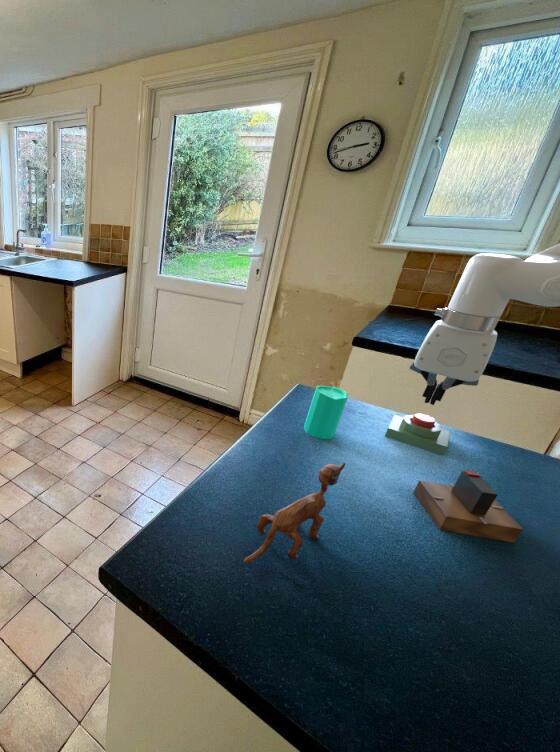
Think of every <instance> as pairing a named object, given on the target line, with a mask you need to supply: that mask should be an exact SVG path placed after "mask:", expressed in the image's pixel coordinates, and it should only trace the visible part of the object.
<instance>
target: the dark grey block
mask: <svg viewBox="0 0 560 752" xmlns="http://www.w3.org/2000/svg"><path fill="white" fill-rule="evenodd" d="M453 485H454V487H453V489H452V492H453V493H454V494H455V495H456V497H457V498H458V499H459V500H460V501H461V502H462V504H463V505H464V506H465V507H466V508H467V509H468V511H469V512H470V513H473V514H479V515H486V513H487V512H488V510H489V508H490V507H491V505H492V503H493V502H494V500H496V499H497V497H498V496H499V495H498V493H497V492H496V491H495V490H494V489H493V488H492V487H491V486H490V485H489V484H488V483H487V482H486V481H485V480H484V479H483V478H482V477H481V475H480V473H478V471H472V470H467V469H466V470H462V471H461V473H460V474H459V475H458V477H457V480H456V482H455V483H454V484H453Z"/></svg>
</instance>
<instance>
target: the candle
mask: <svg viewBox="0 0 560 752" xmlns="http://www.w3.org/2000/svg"><path fill="white" fill-rule="evenodd" d="M348 396H349V393H348V392H347V391H345V390H344V389H342V388H339V387H336V386H335V384H333V386H328V385H316V387H315V391H314V394H313V397H312V400H311V403H310V406H309V409H308V413H307V415H306V419H305V422H304V426H303V431H305V433H307V434H308V435H309V436H312V437H313V438H318V439H321V440H330V439H332V438H334V437H335V434H336V431H337V428H338V425H339V422H340V420H341V417H342V414H343V411H344V408H345V406H346V403H347V401H348Z"/></svg>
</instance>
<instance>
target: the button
mask: <svg viewBox="0 0 560 752" xmlns="http://www.w3.org/2000/svg"><path fill="white" fill-rule="evenodd" d="M413 415H414V416H413V418H412V421H411V422H412V423H414V424H416V425H418V426H421V427H424V428H432V427H433V425H434V423H435V422H436V419H435V418H434V417H433V416H431V415H428V414H425V413H419V412H416V413H414V414H413Z"/></svg>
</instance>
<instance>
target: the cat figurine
mask: <svg viewBox="0 0 560 752" xmlns="http://www.w3.org/2000/svg"><path fill="white" fill-rule="evenodd" d="M345 466H346V463H345V462H344V463H342V464H341V465H340V466H339V465H338V464H334V463H327V464H325V465H323V467H322V468H321V469H320V470H319V473H318V476H317V478H318V481H319V483H320V490H319V491H318V492H314V493H310V494H308V495H307V496H305V497H304V496H303V497H302V498H299V499H297V500H294V501H293V503H290V504H289V505H287V506H285V507H283V508H279V509H278V510H277V511H275V513H274V514H273V515H272V514H271V513H270V514H269V513H267V514H262V515H261V516H260V518H259V520H258V522H257V524H256V529H257V531H258V533H259V535H260V536H261V537H262V536H264V535H266V533H267V530H265V528H266V527H267V526H268V525H270V524H271V528H269V531H268V534H267V537H266V538H265V540H264V542H263V543H262V545H261V546H260V547H258V549H257V550H255V551H254V552H253V553H252V554H250V555H248V556H247V557H245V558H244V559H243V564H245V565H247V564H250V563H252V562H253V561H255V560H256V559H258V558H260V557H261V556H262V555H263V554H264V553H265V552H266V551H267V550H268V549H269V547H270V546H271V544H272V543H273V542H274V539H275V537H276V534H277V532H280V533H282V534H284V535H286V536H287V537H288V538H290V539H291V540H292V541H293V543H292V545H291V547H290V548H289V550H288V552H287V557H288V558H289V559H290V560H293V561H296V560H297V559H298V558H299V555H297V552H298V551H299V550H300V549H301V548H302V546H303V542H304V541H303V537H302V535H301V534H300V533H299V530H298V529H299V527H300V526H301V525H302V524H304V523H305V522H306V521H308V520H312V524H311V526H310V528H309V531H308V537H309V538H310V539H312V540H317V539H319V538H320V536H319V535H318V533H319V530H320V528H321V527H322V524H323V522H324V521H325V518H324V517H323V516H322V515H321V514H320V513H321V512H322V511H323V509H324V508H325V507H326V503H327V502H326V500H325V497H324V495H325V493H326V492H327V491H328V487H330V486H334V485H336V484H338V480H339V477H340V476H341V472H342V470H344V468H345Z"/></svg>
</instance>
